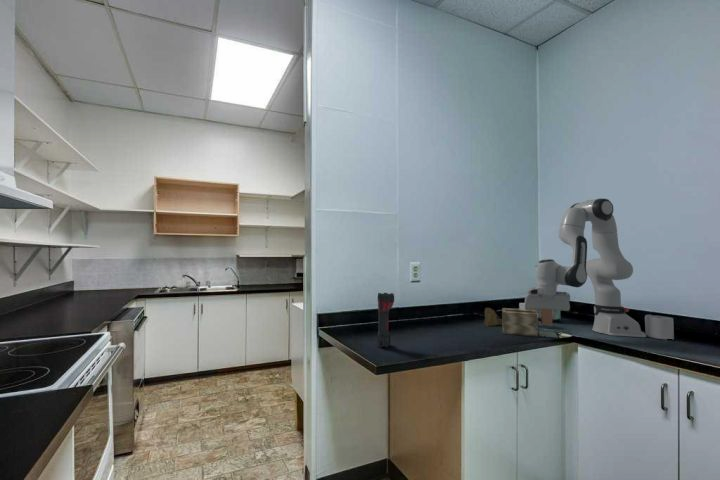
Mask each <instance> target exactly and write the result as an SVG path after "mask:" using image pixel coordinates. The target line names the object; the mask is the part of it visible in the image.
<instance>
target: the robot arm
mask: <svg viewBox="0 0 720 480" xmlns="http://www.w3.org/2000/svg"><path fill="white" fill-rule="evenodd" d="M613 213H614V205H613V202H611V200H610V199H607V198H596V199H589V200H585V201H582V202H577V203H574V204H572V205H571V206H570V207H569V208H567V209H566V210H565V212H564V214H563V216H562V219H561V222H560V224H559V228H558V238H559V240H560V241H562V242H563V243H564V244H566V245H569V246H570V247H571V248H572V250H573V251H572V263H571V265H570V266H563V265H561V264H558V263H557V262H556V261H555V260H554V259H552V258H550V259H548V258H547V259H542V260H539V261H538V262H537V264H536V266H537V274H536V278H537V281H536V287H531V288H528V289H527V290H526V292H527V294H526V295H525V296H524V303H525V307H526V308H534V309H536V311H537V313H538V317H539V318H542V314H540V313H539V312H538V311H539V309H552V310H554V312H555V313H554V314H553V315H552V319H555V316H556V314H557V313H558V310H560V311H561V312H562V311H565V312H569V311H570V310H571V304H570V301H571V295H570V293H569V292H567V291H557V290H556V284H559V285H561V286H568V287H573V288H580V287H583V286H584V285H585V283H586V282H587V280H588V278H589V279H590V281H591V283H592V286H593V287H592V288H593V290H594V291H593V292H594V305H593V313H594V321H593V326H592V329H591V330H592V331H593V332H596V333H601V334H605V335H609V336H614V337H634V338H647V337H648V336H647V335H646V334H645V332H644V331H642V329H641V325H640V324H639V322H638V321H636V320H635V319H634V318H632V317H631V316H629V315H628V314H627V313H629V311H630V309H629V308H627V307H624V306H623V305H622V301H621V300H622V299H621V296H622V295H621V291H620V289H619V288H618V287H617V286H616V285H615V284H614V281H622V280H628V279H629V278H630V277H632V275H633V274H634V267H633V265H632V264H631V262H630V261H629V260H627V259H626V258H625V257H624V255H623V254H622V251H621V250H620V246H619V245H620V244H619V238H618V237H619V236H618V229H617V228H618V227H617V222H616V219H615V216H614V214H613ZM586 222H590V223H591V239H592V241H591V242H592V248H593V249H594V250H595V251H596V252H597V253H598V254H599V258H593V259H588V260H587V257H588V242H587V241H588V240H587V238H585V228H586Z"/></svg>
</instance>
